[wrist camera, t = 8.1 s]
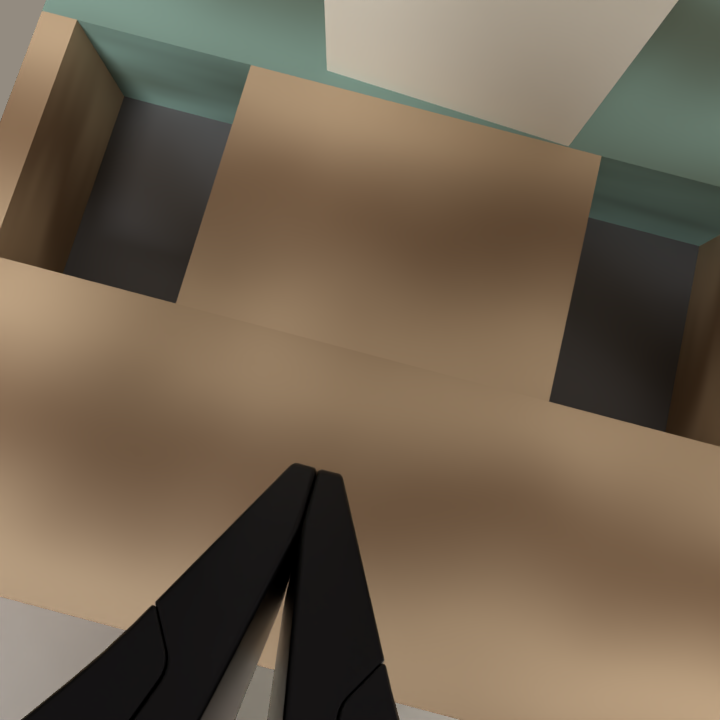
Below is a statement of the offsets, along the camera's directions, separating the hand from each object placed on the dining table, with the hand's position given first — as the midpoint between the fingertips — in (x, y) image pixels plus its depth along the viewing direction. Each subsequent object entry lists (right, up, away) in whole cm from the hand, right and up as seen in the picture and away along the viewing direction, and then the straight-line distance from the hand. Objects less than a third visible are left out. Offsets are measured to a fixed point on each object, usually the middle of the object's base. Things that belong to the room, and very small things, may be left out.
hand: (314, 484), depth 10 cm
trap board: (+1, +5, +10) cm, 11 cm away
